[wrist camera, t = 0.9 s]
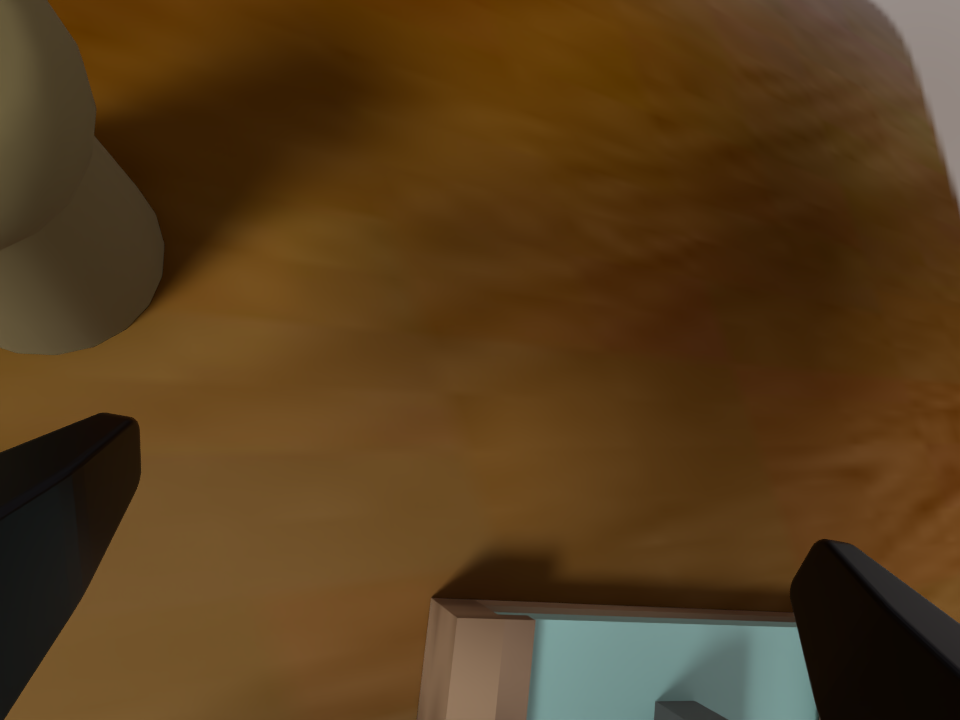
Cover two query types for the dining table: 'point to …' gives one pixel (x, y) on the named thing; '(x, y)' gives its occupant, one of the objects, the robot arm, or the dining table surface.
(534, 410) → the dining table surface
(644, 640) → the cover plate
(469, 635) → the wooden tray
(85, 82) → the cork
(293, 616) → the dining table surface
